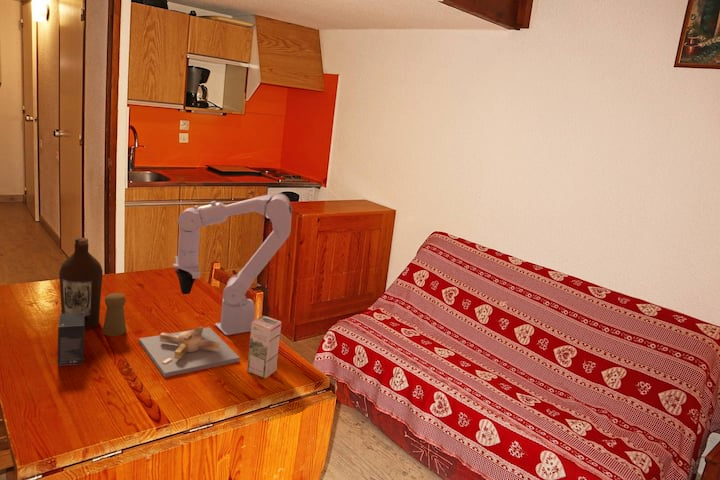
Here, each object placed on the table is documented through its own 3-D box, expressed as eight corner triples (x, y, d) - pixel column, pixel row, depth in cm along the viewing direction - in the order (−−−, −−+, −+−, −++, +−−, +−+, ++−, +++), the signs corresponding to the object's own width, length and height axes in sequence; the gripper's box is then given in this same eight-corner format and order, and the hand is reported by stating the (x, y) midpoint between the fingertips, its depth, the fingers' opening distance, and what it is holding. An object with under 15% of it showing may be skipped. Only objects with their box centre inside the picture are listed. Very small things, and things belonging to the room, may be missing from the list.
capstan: (158, 341, 144) (158, 328, 143) (201, 333, 152) (202, 320, 151) (175, 361, 136) (176, 347, 134) (220, 352, 143) (221, 338, 142)
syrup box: (276, 370, 142) (282, 320, 138) (264, 379, 136) (269, 327, 133) (259, 363, 144) (264, 314, 140) (245, 372, 138) (251, 321, 135)
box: (83, 364, 131) (84, 325, 128) (57, 366, 129) (57, 326, 126) (84, 349, 138) (84, 311, 135) (59, 351, 135) (59, 313, 133)
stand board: (209, 330, 158) (209, 326, 158) (239, 361, 143) (239, 356, 143) (139, 342, 145) (139, 337, 145) (164, 377, 131) (164, 372, 130)
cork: (117, 337, 146) (118, 300, 143) (97, 333, 147) (98, 296, 144) (130, 329, 152) (132, 293, 149) (111, 324, 153) (112, 289, 150)
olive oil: (65, 314, 155) (65, 232, 148) (105, 316, 157) (107, 235, 151) (54, 331, 145) (53, 243, 138) (96, 332, 147) (98, 246, 141)
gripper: (165, 242, 157) (163, 285, 160) (184, 258, 146) (181, 304, 150) (189, 241, 161) (186, 283, 165) (208, 256, 151) (205, 301, 154)
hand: (185, 293), depth 157 cm, fingers closed
